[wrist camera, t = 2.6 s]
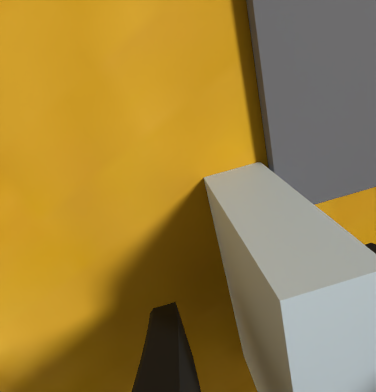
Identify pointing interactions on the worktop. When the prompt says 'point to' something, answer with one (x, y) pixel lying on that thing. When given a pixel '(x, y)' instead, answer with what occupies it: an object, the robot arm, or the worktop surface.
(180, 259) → the worktop surface
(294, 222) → the block
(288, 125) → the mat
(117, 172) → the worktop surface
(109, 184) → the worktop surface
